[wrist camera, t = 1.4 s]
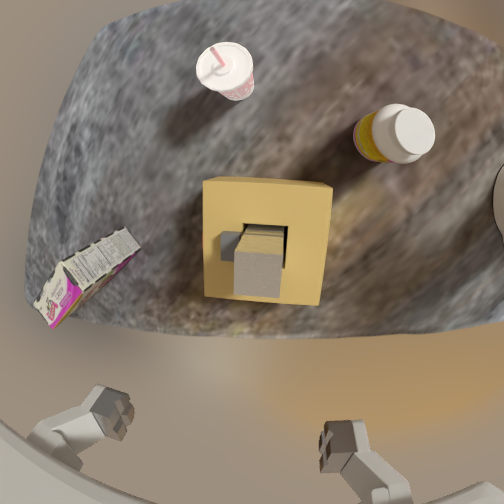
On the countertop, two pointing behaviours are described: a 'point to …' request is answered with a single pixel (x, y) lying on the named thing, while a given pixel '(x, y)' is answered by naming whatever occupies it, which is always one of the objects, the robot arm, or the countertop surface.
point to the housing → (269, 213)
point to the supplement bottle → (394, 134)
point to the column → (259, 261)
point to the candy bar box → (84, 275)
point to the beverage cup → (227, 70)
